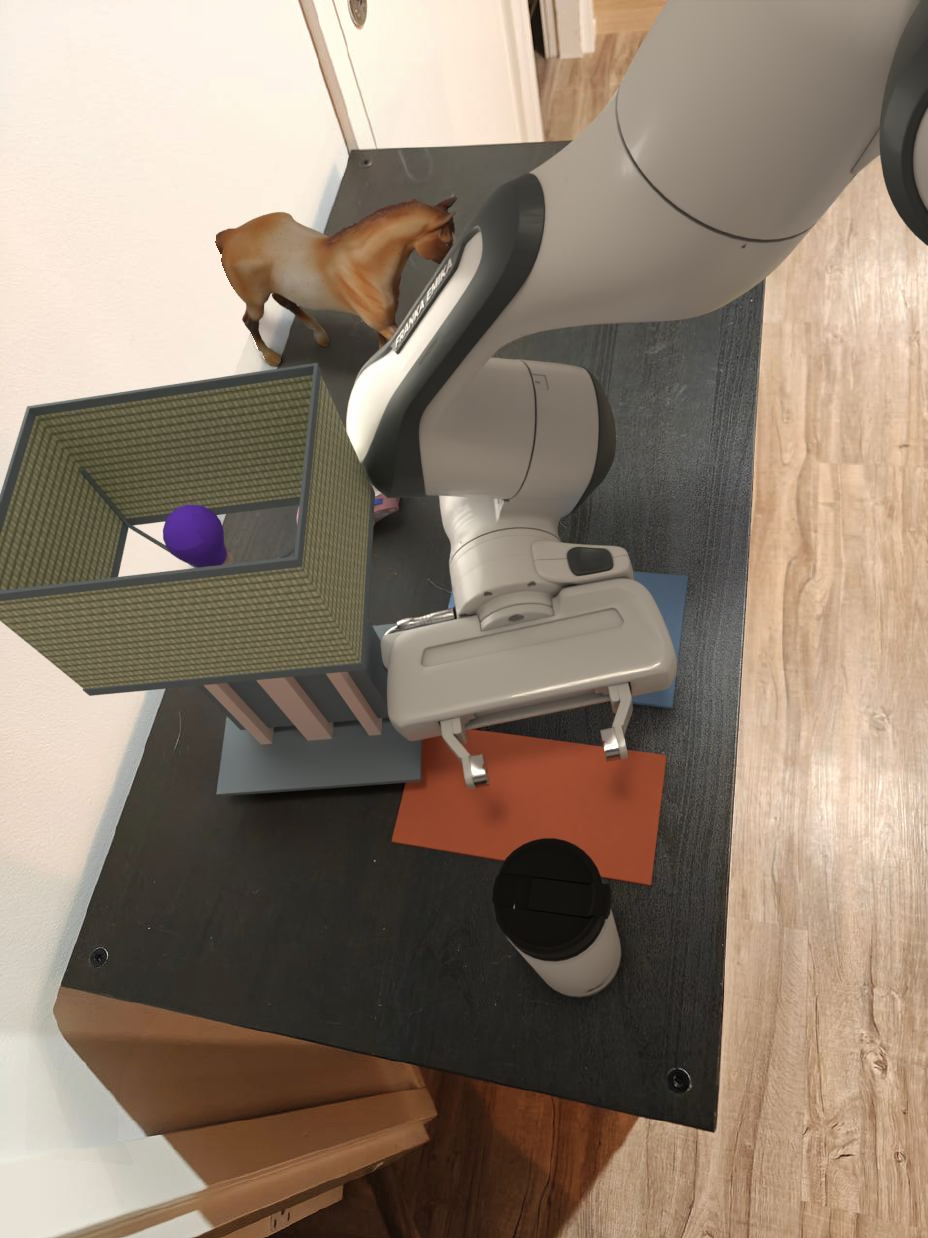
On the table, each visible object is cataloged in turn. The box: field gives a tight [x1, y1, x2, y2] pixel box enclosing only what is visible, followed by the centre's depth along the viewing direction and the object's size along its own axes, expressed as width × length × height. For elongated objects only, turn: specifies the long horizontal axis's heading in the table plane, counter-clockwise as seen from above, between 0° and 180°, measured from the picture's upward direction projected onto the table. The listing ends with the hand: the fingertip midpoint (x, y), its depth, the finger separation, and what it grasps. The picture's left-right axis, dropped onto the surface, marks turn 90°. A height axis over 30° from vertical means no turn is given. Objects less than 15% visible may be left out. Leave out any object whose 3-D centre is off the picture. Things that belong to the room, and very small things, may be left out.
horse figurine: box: [215, 196, 458, 367], centre depth 90 cm, size 31×8×21 cm, turn 64°
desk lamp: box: [0, 362, 422, 797], centre depth 66 cm, size 18×14×33 cm
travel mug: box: [491, 838, 622, 999], centre depth 59 cm, size 6×7×20 cm
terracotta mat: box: [391, 729, 668, 887], centre depth 73 cm, size 20×10×1 cm, turn 78°
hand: (547, 771), depth 63 cm, fingers open, 8 cm apart
